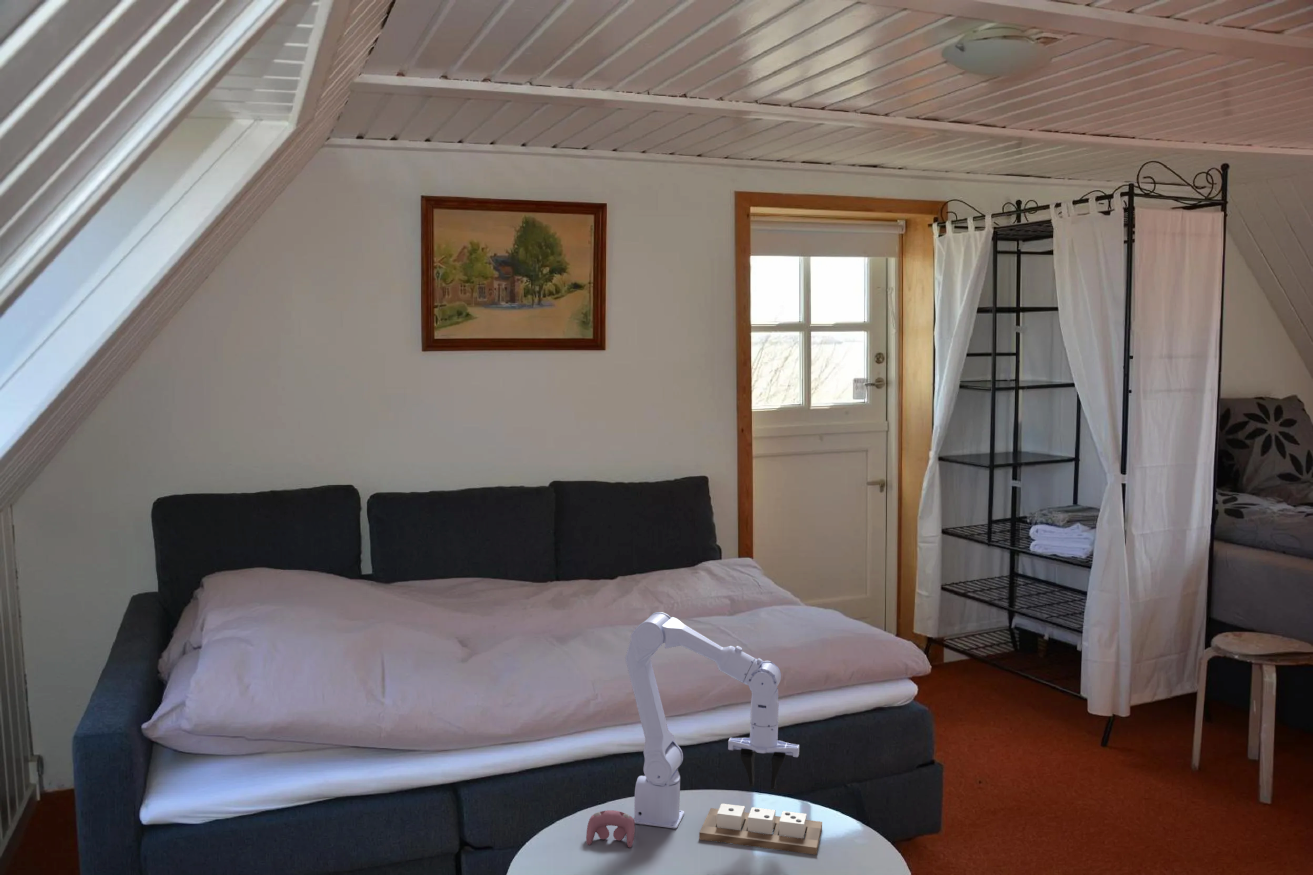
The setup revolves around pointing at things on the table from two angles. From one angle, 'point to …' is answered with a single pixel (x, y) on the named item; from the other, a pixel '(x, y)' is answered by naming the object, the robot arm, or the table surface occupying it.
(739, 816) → the one dot tile
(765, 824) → the two dot tile
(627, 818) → the video game controller
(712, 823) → the tile board
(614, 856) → the table surface
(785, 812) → the three dot tile
